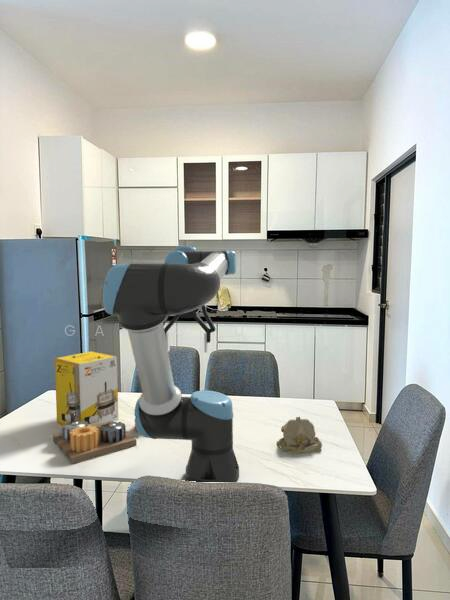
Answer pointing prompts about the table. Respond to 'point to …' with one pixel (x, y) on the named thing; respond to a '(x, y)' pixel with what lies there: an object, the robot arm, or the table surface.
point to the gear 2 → (112, 432)
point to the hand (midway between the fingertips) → (186, 351)
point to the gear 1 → (71, 427)
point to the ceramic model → (299, 437)
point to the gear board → (97, 451)
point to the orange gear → (84, 438)
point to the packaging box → (86, 388)
